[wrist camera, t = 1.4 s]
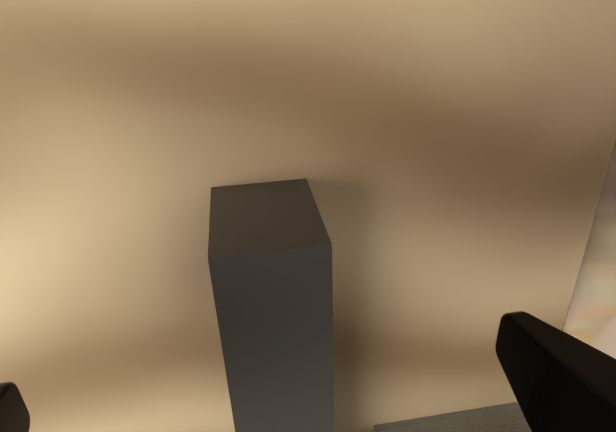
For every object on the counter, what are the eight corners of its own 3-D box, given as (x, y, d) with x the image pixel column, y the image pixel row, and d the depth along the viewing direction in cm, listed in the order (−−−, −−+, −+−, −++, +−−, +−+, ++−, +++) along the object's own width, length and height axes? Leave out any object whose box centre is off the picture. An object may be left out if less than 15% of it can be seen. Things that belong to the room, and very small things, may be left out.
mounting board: (481, 546, 23) (493, 574, 22) (88, 624, 21) (80, 659, 20) (697, -330, 9) (760, -369, 8) (-438, -374, 7) (-560, -436, 6)
